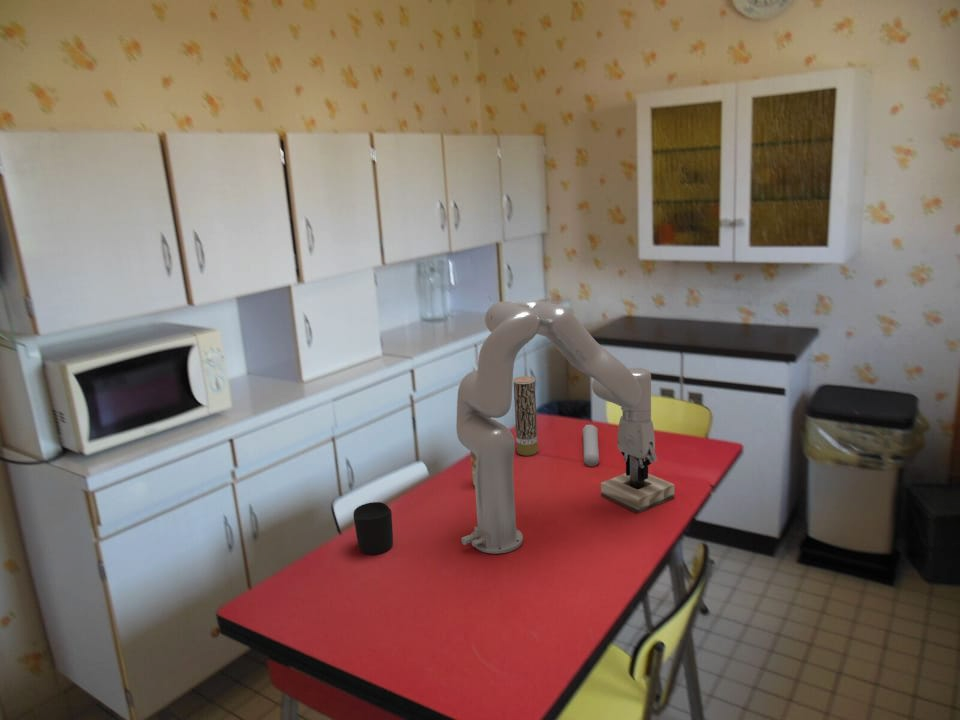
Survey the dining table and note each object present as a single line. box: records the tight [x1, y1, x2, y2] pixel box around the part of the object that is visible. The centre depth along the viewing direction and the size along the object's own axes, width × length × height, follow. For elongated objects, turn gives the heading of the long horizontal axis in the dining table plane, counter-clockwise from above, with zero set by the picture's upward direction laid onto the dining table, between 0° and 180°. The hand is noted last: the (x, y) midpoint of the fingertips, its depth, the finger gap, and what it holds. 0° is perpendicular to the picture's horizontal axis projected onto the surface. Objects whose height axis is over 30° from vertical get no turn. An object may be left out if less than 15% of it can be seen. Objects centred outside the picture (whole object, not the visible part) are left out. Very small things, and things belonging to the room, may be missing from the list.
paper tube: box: [513, 375, 539, 457], centre depth 232 cm, size 7×7×25 cm
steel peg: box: [630, 455, 645, 490], centre depth 197 cm, size 4×4×12 cm
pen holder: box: [352, 501, 394, 556], centre depth 181 cm, size 9×9×10 cm
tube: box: [582, 424, 600, 467], centre depth 232 cm, size 5×5×25 cm
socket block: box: [600, 472, 675, 514], centre depth 199 cm, size 14×14×4 cm
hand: (636, 476), depth 198 cm, fingers closed on steel peg, 3 cm apart
